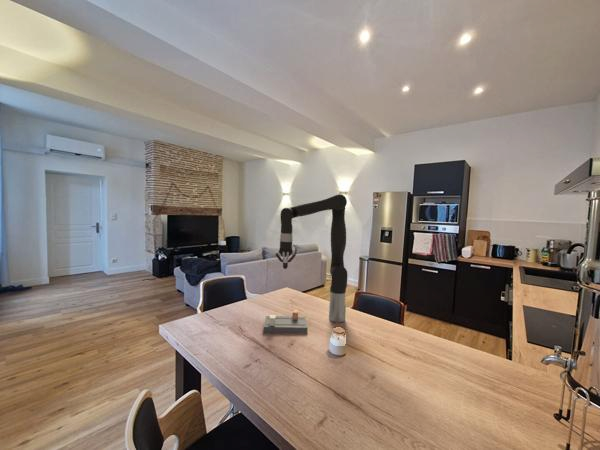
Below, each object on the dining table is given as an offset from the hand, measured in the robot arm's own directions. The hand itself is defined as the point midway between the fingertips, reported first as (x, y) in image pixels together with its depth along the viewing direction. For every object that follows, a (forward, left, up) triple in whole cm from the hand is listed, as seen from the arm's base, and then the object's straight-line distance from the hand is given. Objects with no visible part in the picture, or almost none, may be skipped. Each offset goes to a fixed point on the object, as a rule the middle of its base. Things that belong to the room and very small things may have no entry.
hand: (285, 268), depth 153 cm
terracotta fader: (-7, +12, -25) cm, 29 cm away
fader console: (-2, +16, -29) cm, 33 cm away
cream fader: (+6, +20, -25) cm, 33 cm away
